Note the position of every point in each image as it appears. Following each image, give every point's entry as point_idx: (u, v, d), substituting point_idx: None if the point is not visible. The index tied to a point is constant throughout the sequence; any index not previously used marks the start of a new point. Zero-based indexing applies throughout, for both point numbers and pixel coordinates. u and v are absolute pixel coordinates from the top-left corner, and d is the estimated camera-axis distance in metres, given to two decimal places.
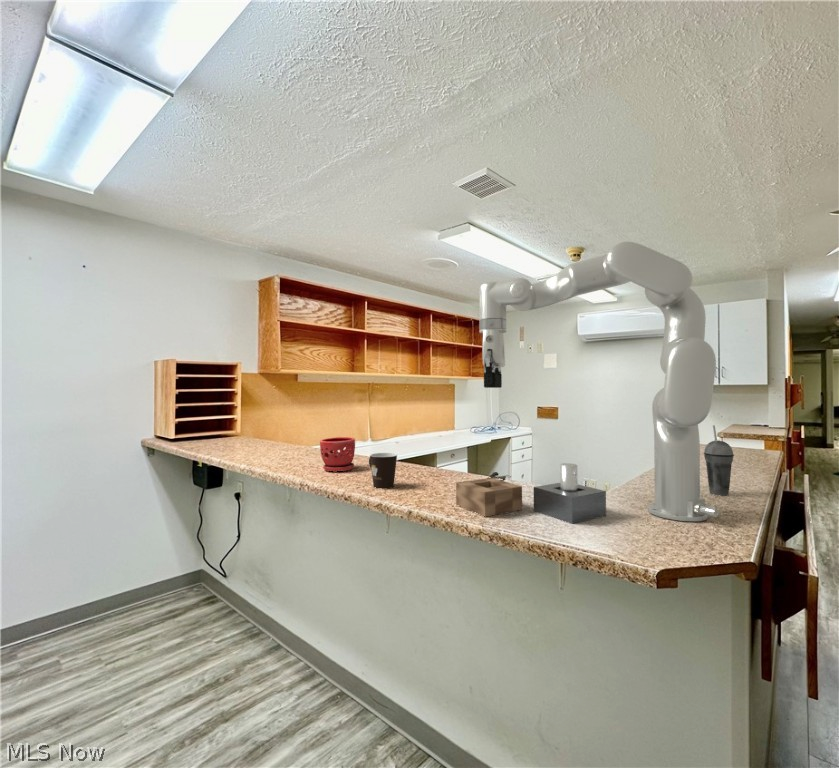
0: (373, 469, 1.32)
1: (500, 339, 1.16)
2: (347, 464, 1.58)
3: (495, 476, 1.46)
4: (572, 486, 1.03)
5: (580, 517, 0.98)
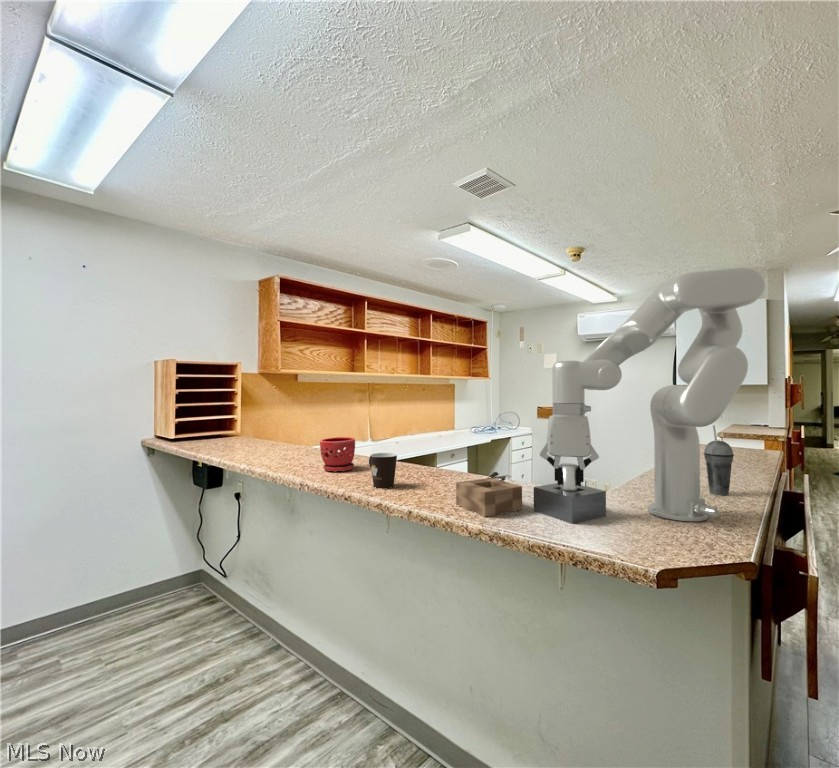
0: (373, 469, 1.32)
1: None
2: (347, 464, 1.58)
3: (495, 476, 1.46)
4: (572, 486, 1.03)
5: (580, 517, 0.98)
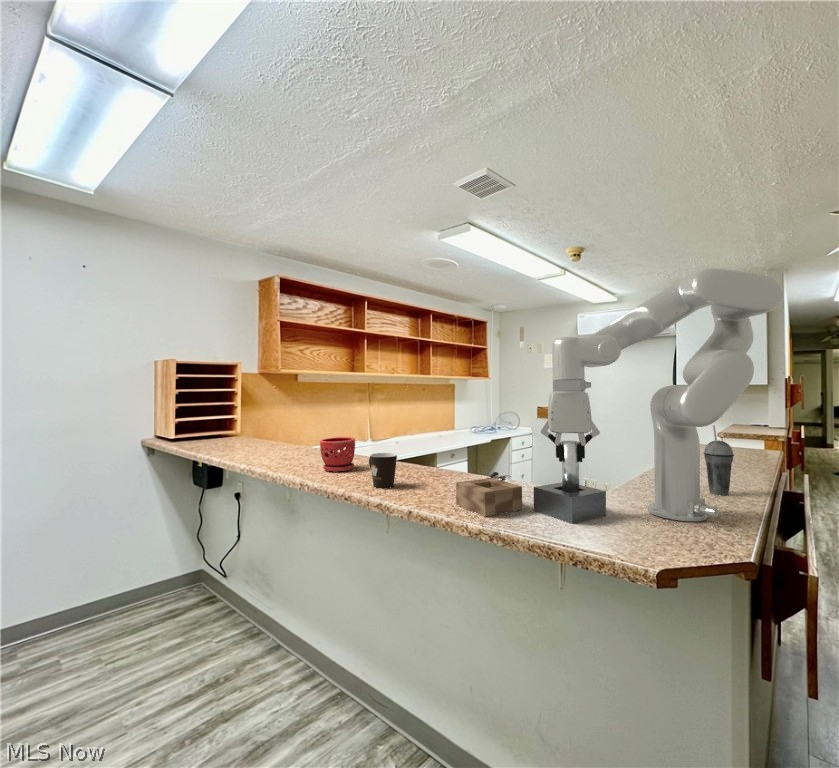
0: (373, 469, 1.32)
1: None
2: (347, 464, 1.58)
3: (495, 476, 1.46)
4: (574, 462, 1.03)
5: (580, 517, 0.98)
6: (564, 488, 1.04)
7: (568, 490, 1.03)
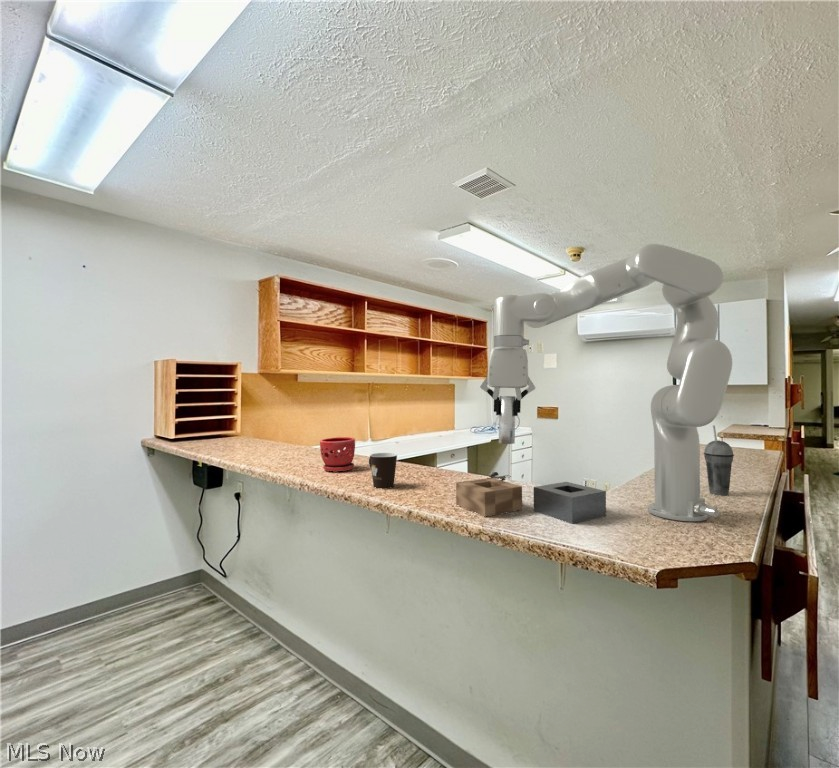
0: (373, 469, 1.32)
1: None
2: (347, 464, 1.58)
3: (495, 476, 1.46)
4: (509, 415, 1.07)
5: (580, 517, 0.98)
6: (500, 440, 1.08)
7: (503, 442, 1.07)
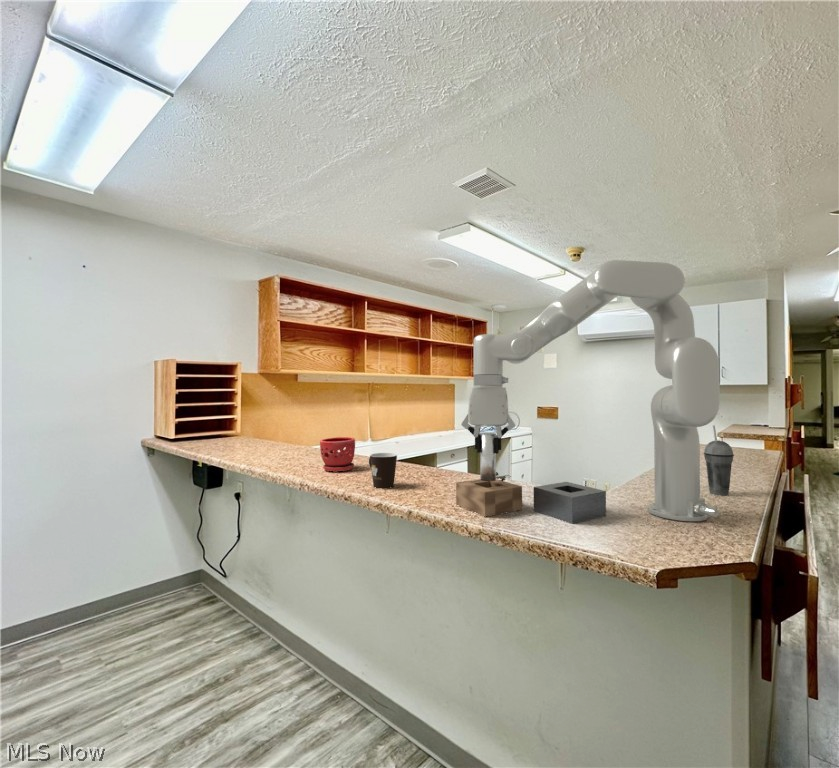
0: (373, 469, 1.32)
1: None
2: (347, 464, 1.58)
3: None
4: (490, 453, 1.08)
5: (580, 517, 0.98)
6: (481, 478, 1.09)
7: (484, 479, 1.08)
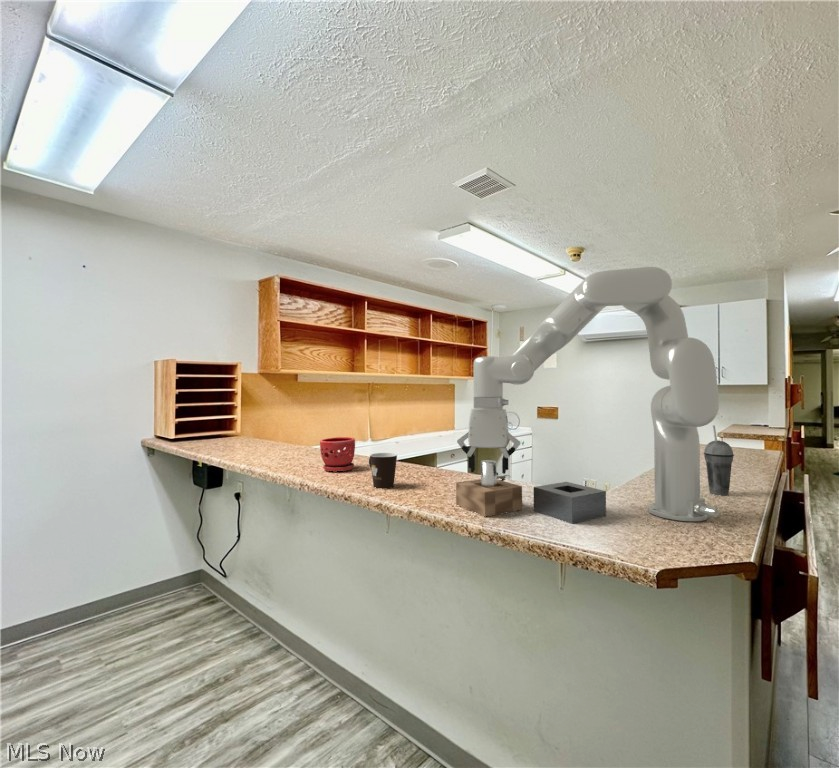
0: (373, 469, 1.32)
1: None
2: (347, 464, 1.58)
3: None
4: (491, 481, 1.08)
5: (580, 517, 0.98)
6: None
7: None
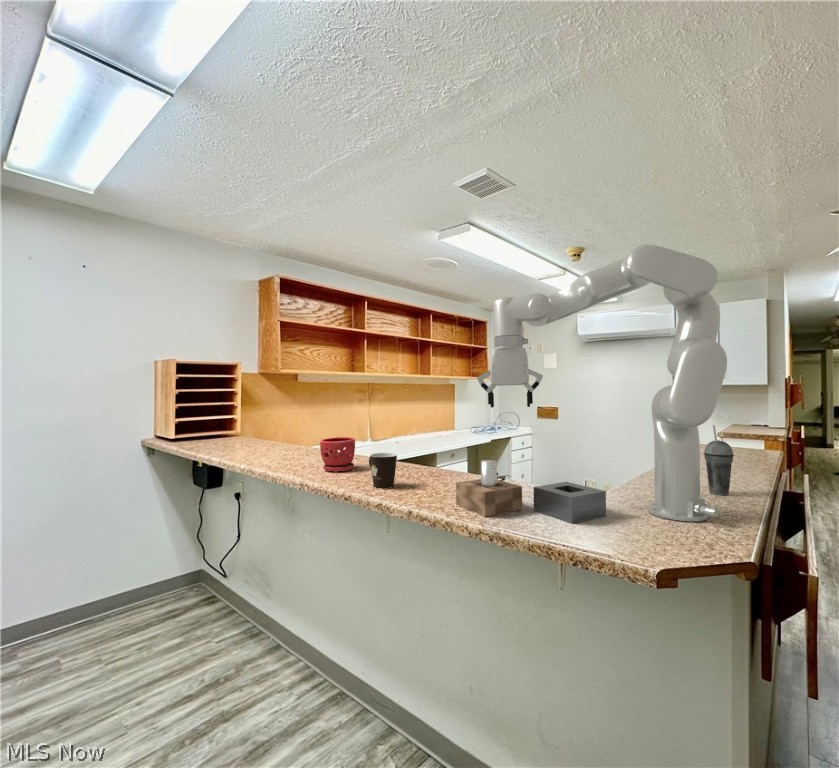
0: (373, 469, 1.32)
1: None
2: (347, 464, 1.58)
3: None
4: (491, 481, 1.08)
5: (580, 517, 0.98)
6: None
7: None
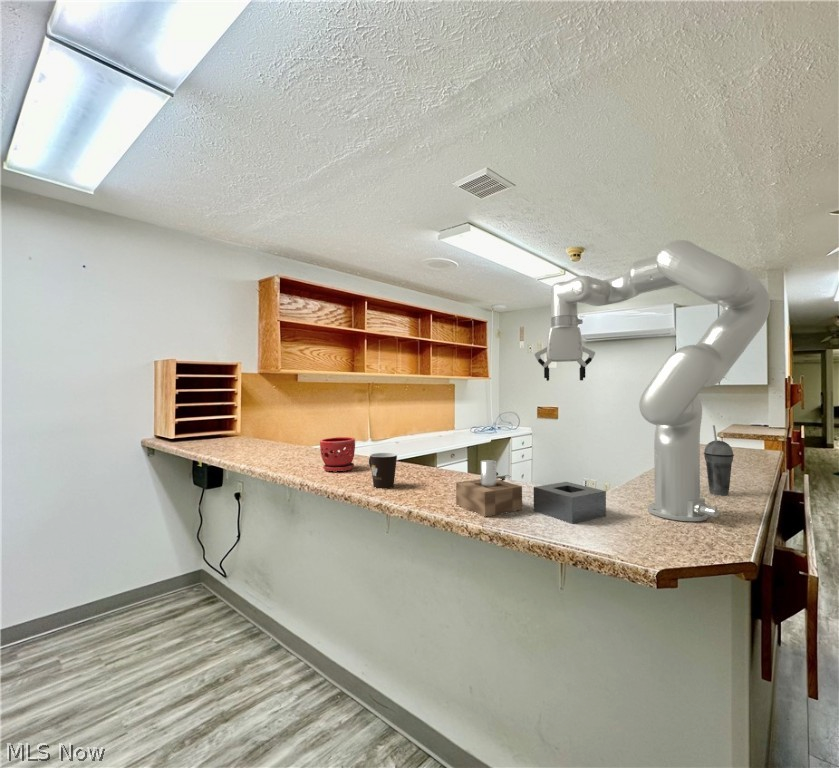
0: (373, 469, 1.32)
1: None
2: (347, 464, 1.58)
3: None
4: (491, 481, 1.08)
5: (580, 517, 0.98)
6: None
7: None
